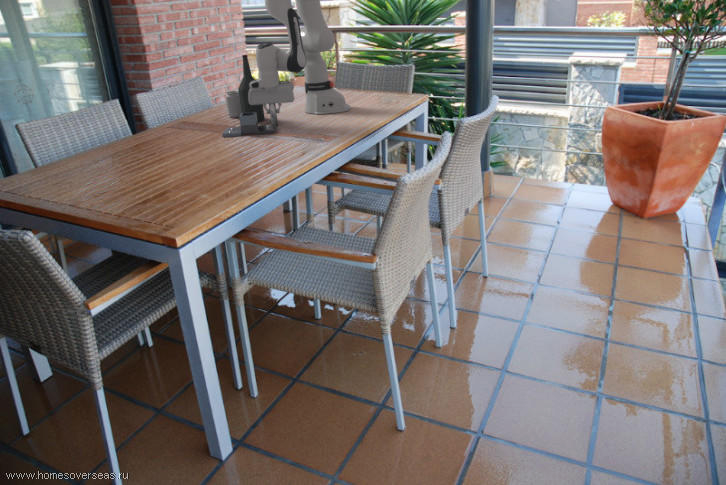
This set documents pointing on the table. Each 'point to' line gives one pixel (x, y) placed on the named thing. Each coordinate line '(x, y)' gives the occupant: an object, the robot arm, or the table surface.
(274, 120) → the pin
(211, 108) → the table surface
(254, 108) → the bottle
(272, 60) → the robot arm
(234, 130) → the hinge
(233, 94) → the can
